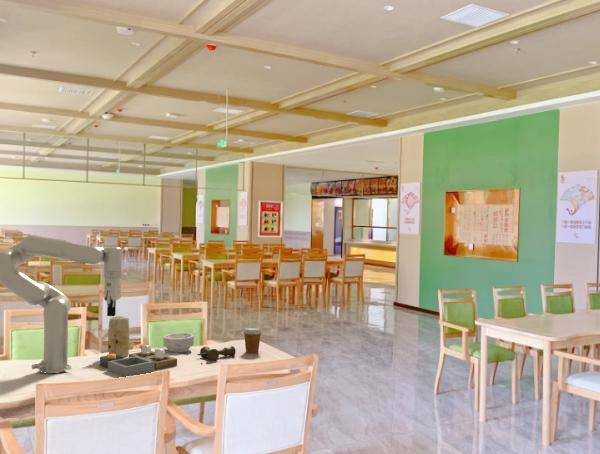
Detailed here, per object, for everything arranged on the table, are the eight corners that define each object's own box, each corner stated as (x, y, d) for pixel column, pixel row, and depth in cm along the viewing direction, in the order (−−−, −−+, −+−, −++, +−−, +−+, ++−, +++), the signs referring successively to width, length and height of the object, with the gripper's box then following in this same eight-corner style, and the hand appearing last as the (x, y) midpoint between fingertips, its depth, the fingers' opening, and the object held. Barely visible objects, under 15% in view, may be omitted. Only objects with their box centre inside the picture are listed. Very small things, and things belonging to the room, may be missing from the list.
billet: (157, 366, 243) (157, 350, 244) (152, 364, 247) (153, 349, 247) (166, 365, 246) (166, 349, 247) (161, 363, 250) (161, 348, 250)
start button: (109, 366, 241) (109, 356, 241) (105, 364, 243) (105, 354, 243) (117, 364, 244) (117, 354, 244) (113, 363, 246) (113, 353, 246)
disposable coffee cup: (240, 350, 282) (240, 327, 282) (257, 349, 287) (258, 326, 286) (246, 354, 274) (246, 330, 274) (264, 353, 278) (264, 329, 278)
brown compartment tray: (177, 367, 247) (177, 358, 247) (156, 372, 239) (156, 362, 239) (149, 358, 261) (149, 350, 261) (128, 362, 253) (129, 354, 253)
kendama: (238, 358, 268) (201, 363, 256) (228, 355, 276) (192, 359, 264) (238, 346, 268) (201, 350, 256) (229, 343, 276) (192, 346, 264)
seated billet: (144, 362, 251) (144, 347, 251) (139, 360, 254) (139, 345, 254) (152, 360, 254) (153, 345, 254) (147, 359, 257) (147, 344, 257)
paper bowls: (157, 350, 279) (157, 335, 279) (183, 346, 289) (183, 331, 289) (173, 356, 268) (173, 339, 268) (199, 351, 279) (199, 336, 279)
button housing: (107, 371, 238) (108, 359, 238) (99, 368, 243) (100, 356, 243) (122, 368, 244) (122, 357, 244) (114, 365, 248) (114, 354, 248)
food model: (127, 356, 266) (128, 315, 266) (130, 359, 260) (131, 317, 260) (106, 358, 261) (107, 316, 261) (109, 361, 255) (109, 318, 255)
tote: (125, 379, 226) (125, 367, 226) (107, 372, 236) (107, 361, 236) (154, 373, 237) (154, 361, 237) (136, 367, 246) (136, 355, 246)
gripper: (116, 276, 237) (114, 318, 237) (125, 273, 251) (124, 313, 252) (98, 276, 236) (97, 318, 236) (109, 273, 251) (107, 313, 251)
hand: (111, 315), depth 244 cm, fingers closed
